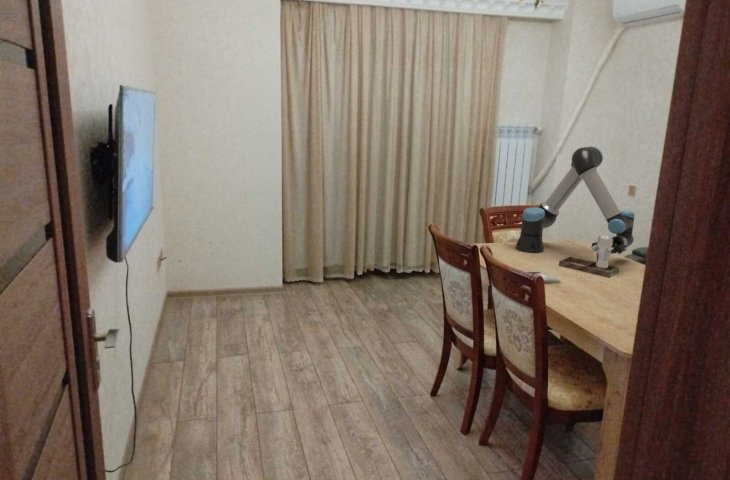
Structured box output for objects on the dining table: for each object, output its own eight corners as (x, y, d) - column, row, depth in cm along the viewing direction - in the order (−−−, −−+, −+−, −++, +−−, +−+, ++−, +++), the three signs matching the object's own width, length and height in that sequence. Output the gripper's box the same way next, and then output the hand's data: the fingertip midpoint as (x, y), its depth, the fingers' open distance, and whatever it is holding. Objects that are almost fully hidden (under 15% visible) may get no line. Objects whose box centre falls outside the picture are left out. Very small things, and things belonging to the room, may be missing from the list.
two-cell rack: (558, 265, 262) (559, 260, 262) (569, 261, 271) (569, 256, 271) (609, 277, 245) (609, 272, 245) (618, 272, 254) (619, 267, 254)
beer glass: (593, 267, 252) (597, 237, 249) (594, 264, 258) (598, 235, 255) (608, 269, 249) (613, 239, 245) (609, 266, 255) (613, 237, 251)
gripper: (636, 254, 258) (620, 262, 242) (596, 246, 271) (579, 254, 255) (638, 240, 256) (622, 247, 240) (598, 233, 270) (581, 239, 254)
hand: (600, 251), depth 248 cm, fingers closed on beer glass, 7 cm apart
